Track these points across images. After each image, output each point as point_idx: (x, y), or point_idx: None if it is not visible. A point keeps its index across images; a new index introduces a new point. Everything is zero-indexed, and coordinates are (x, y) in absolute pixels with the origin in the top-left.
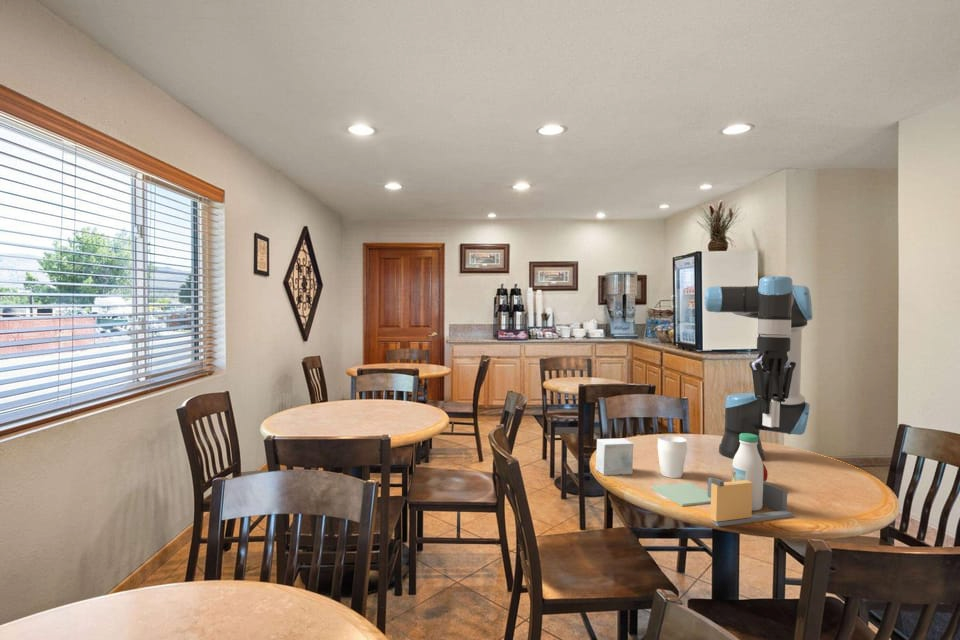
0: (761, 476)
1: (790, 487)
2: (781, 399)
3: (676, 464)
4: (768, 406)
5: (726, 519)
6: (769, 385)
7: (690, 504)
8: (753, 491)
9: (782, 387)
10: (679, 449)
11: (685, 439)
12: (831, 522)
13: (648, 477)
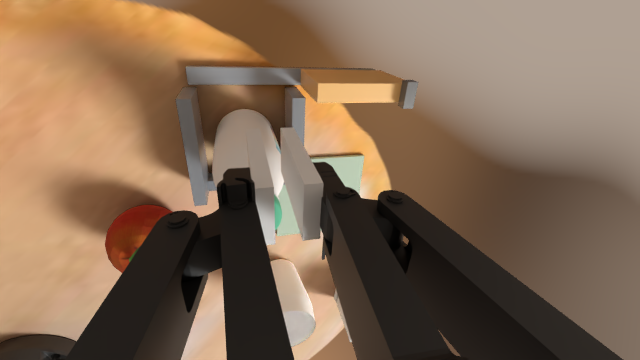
0: (236, 133)
1: (53, 202)
2: (240, 199)
3: (287, 275)
4: (324, 182)
5: (358, 70)
6: (394, 266)
7: (347, 155)
8: (257, 122)
9: (227, 272)
10: (289, 297)
11: None
12: (106, 12)
13: (323, 263)
